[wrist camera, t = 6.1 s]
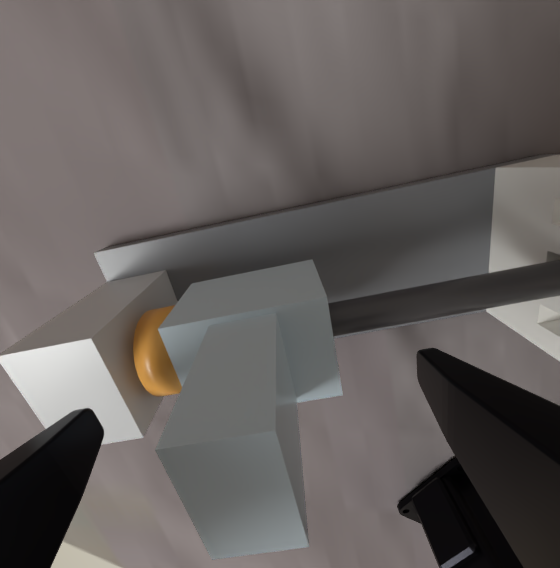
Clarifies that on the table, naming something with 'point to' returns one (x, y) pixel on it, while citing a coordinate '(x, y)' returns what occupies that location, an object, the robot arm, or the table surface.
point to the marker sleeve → (246, 404)
